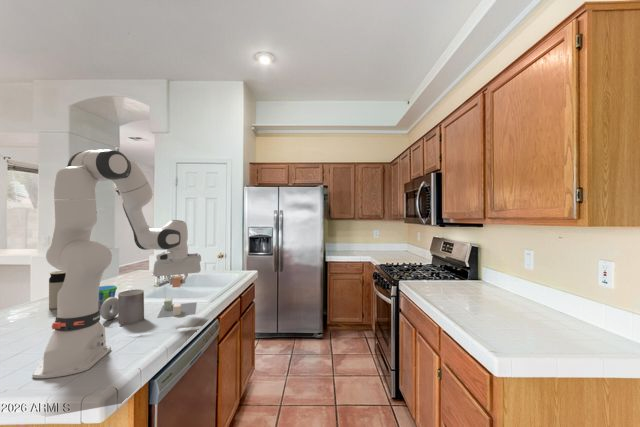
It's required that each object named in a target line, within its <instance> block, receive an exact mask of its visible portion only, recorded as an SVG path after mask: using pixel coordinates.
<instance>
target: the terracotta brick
mask: <svg viewBox="0 0 640 427" xmlns="http://www.w3.org/2000/svg"><path fill="white" fill-rule="evenodd" d="M183 277H184V276H183V275H175V276H174V277H172V279H171V280H172V285H171V286H172V288H180V287H181V286H183V284H182V279H184V278H183Z"/></svg>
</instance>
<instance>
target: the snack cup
mask: <svg viewBox="0 0 640 427" xmlns="http://www.w3.org/2000/svg"><path fill="white" fill-rule="evenodd" d="M117 289H118V286H117V285H101V286H99V304H98V309H99V310H100V309H101V306H102V304H103V302H104V301H105V300H106V299H108V298H110V297H115V298H116V291H117ZM110 308H112V305H111V306H110Z"/></svg>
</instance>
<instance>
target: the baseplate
mask: <svg viewBox="0 0 640 427" xmlns="http://www.w3.org/2000/svg"><path fill="white" fill-rule="evenodd" d="M161 306H162V307H161V308H160V310H159V313H158V315H157V317H156V319H161V318H171V317H181V316H193V315H196V313H197V301H196V302H186V303H181V314H180V315H175V316H173V306H174V304H173V303H172V308H171V309H166V310H164V304H163V305H161Z"/></svg>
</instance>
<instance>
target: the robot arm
mask: <svg viewBox="0 0 640 427" xmlns="http://www.w3.org/2000/svg"><path fill="white" fill-rule="evenodd" d="M104 181H111V182H112V183H114V185H115V187H116V189H117V191H118V193H119V195H120V196H121V199H122V207H123V211H124V213H125V217H126V219H127V221H128V223H129V225H130V227H131V230H132V233H133V240H134V243H135V245H136V246H137V247H138V249H140V250H143V251H147V250H156V251H157V250H158V251H159V250H160V251H164V252H160V253H157V255H156V256H155V257H156V260H155V261H154V264H153V272H152V274H153V276H154V277H166V278H167V280H168V281H169V285H170V286H172V279H171V278H172V277H171V276H174V275H175V276H179V275H184V276H183V277H184V278H183V279H182V285H183V284H186V280H187V278H188V277H189V274H198V273H200V272H201V270H202V269H201V261H202V256H201V254H198V252H197V253H188V252H189V250H188V248H189V245H188V238H189V237H188V236H189V235H188V234H189V233H188V225H187V223H186V222H185V221H183V220H179V219H171V220H169V221H168V222H167V223H166V224H164V225H163V226H161V227H152V226H150V225H148V223H147V221H146V218H145V216H144V213H143V208H144V207H145V206H146V205H148V204H149V203H150V201H152V198H153V195H154V194H153V190H152V187H151V185H150V182H149V180H148V179H147V177H146V175H145V174H144V172H143V170H142V169H141V168H140V166H139V165H138V164H137V163H136V162H135V161H134V160H132V159H129V158H128V157H127V156H126V155H125V154H124V153H122V152H121V151H118V150H115V149H90V150H85V151H84V150H83V151H80V152H79V151H78V152H77V153H75V154H73V155H72V156H71V157H70V158H69V160H68V162H67V166H66V167H63V168H61V169H59V170H58V171H57V172H56V175H55V180H54V187H53V198H54V200H53V201H54V219H55V220H54V230H53V234H52V239H51V244H50V246H49V247H48V249H47V251H46V253H45V258H46V261H47V263H48V264H49V265H51V266H52V267H53V268H54V269H56V270H57V271H66V276H65V280H64V283H63V286H62V288H61V289H60V290H59V292H58V294H57V309H56V311H57V313H56V314H57V315H56V316H55V320H54V322H53V323H52V324H51V329H52V330H54V331H53V332H52V333H51V336H50V338H49V341H48V343H47V345H46V347H45V350H44V352H43V357H42V359H41V360H40V361H39V364H38V365H37V367H36V368H35V370H34V372H33V373H32V378H33V379H51V378H58V377H65V376H70V375H74V374H79V373H82V372H85V371H88V370H90V368H92V367H93V366H94V365H95V364H97V363H98V362H99V361H100V360H101V359H102V358H104V357H105V356H106V355H107V354H108V353H109V352H111V350H112V347H111V346H110V345H107V341H106V338H107V337H106V336H107V335H106V328H105V327H106V326H104V325H103V324H101V322H100V320H101V313H100V309H98V304H99V287H101V286H100V285H101V282H102V279H103V275H104V272H105V270H106V269H108V267H109V266H110V264H111V262H112V257H113V255H112V252H111V249H109V248H108V247H107V246H106V245H104V244H102V243H99V242H98V241H93V240H92V241H91V239H90V238H91V235H92V231H93V229H94V226H95V225H96V224H97V221H98V217H97V198H96V197H97V196H96V190H95V189H96V186H97V183H98V182H104Z"/></svg>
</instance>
